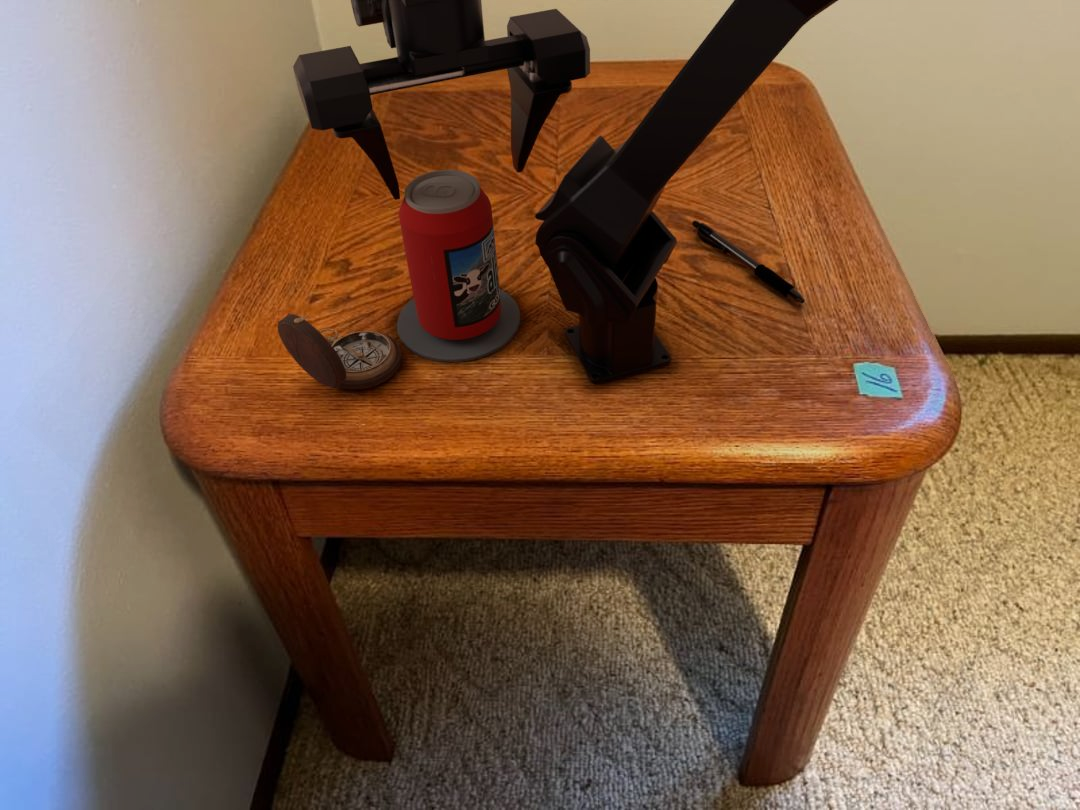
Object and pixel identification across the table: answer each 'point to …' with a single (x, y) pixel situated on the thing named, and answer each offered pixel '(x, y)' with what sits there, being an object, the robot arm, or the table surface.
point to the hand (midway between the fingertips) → (458, 183)
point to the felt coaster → (458, 349)
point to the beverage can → (451, 254)
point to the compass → (340, 354)
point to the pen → (747, 261)
